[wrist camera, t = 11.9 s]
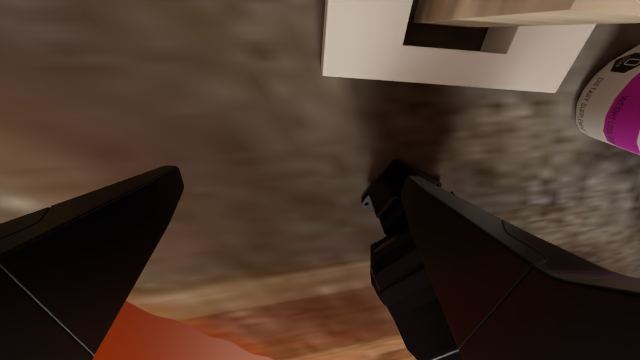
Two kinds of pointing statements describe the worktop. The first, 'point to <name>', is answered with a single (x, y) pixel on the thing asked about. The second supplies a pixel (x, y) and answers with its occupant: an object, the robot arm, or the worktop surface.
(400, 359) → the worktop surface
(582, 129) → the supplement can
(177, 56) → the worktop surface
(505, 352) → the robot arm
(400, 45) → the white flat frame
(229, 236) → the worktop surface
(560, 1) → the block
